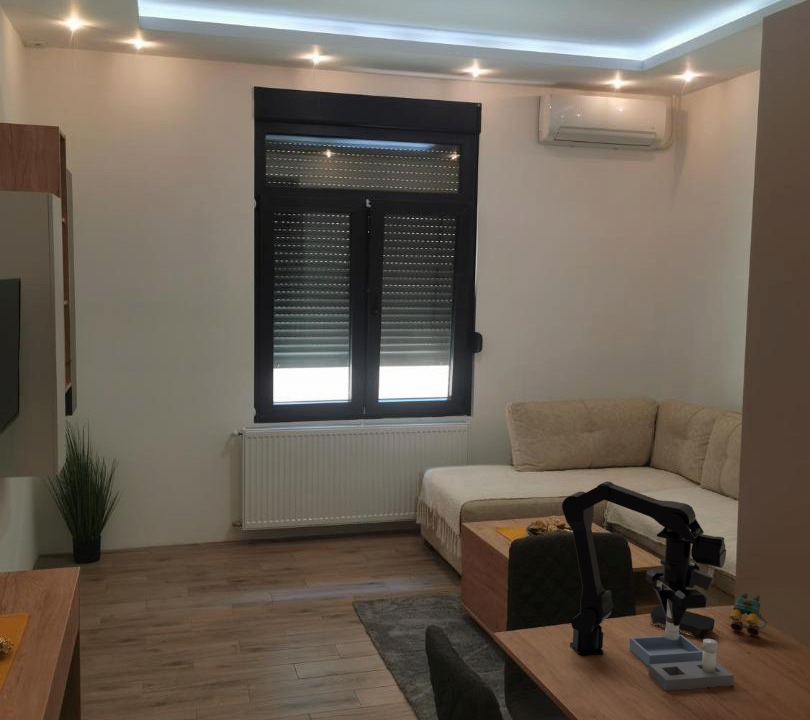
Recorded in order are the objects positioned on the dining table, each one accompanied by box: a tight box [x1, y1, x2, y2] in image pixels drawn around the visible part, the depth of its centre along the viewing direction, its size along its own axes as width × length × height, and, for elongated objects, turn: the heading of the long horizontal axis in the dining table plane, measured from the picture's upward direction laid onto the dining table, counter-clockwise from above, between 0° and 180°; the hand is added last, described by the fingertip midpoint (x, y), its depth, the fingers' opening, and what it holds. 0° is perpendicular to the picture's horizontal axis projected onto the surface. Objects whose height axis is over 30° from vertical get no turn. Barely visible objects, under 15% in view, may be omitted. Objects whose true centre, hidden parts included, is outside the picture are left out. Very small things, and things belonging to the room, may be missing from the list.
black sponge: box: [649, 604, 715, 639], centre depth 228 cm, size 16×8×4 cm, turn 48°
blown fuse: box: [664, 599, 680, 640], centre depth 200 cm, size 3×3×9 cm
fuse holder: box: [648, 660, 735, 692], centre depth 197 cm, size 17×8×2 cm, turn 102°
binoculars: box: [729, 591, 768, 637], centre depth 227 cm, size 9×9×10 cm
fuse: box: [701, 638, 719, 673], centre depth 198 cm, size 3×3×9 cm
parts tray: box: [628, 634, 703, 668], centre depth 210 cm, size 14×10×3 cm
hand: (672, 622), depth 200 cm, fingers closed on blown fuse, 3 cm apart
